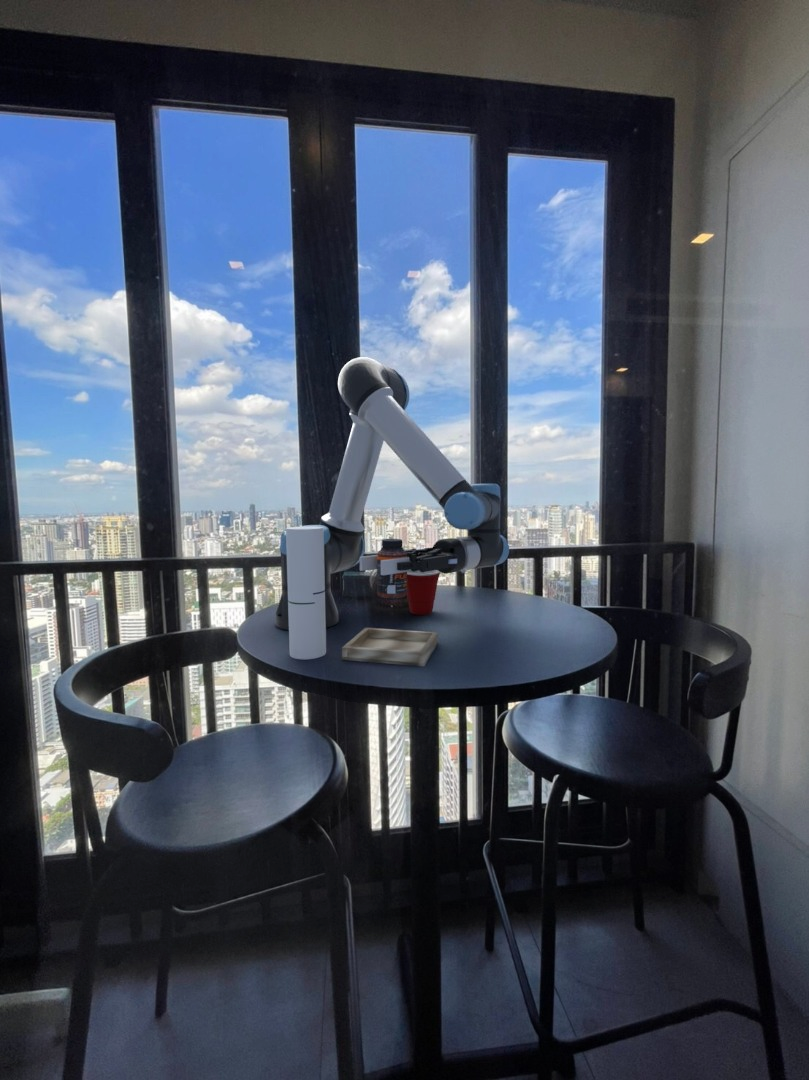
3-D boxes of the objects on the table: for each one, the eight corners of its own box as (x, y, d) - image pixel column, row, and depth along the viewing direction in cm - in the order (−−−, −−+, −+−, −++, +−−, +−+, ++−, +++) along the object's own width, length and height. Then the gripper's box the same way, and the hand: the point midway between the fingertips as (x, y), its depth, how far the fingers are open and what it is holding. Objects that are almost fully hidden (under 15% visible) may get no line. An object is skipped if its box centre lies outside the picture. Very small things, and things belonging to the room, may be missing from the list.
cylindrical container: (333, 653, 99) (330, 527, 96) (303, 662, 93) (299, 530, 91) (312, 645, 104) (309, 525, 101) (282, 653, 98) (278, 528, 96)
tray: (342, 659, 95) (342, 647, 94) (365, 638, 108) (365, 627, 108) (424, 666, 91) (424, 653, 91) (437, 643, 104) (437, 632, 104)
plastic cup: (398, 617, 126) (398, 570, 124) (402, 607, 136) (401, 564, 135) (441, 618, 125) (441, 571, 124) (441, 608, 136) (441, 564, 134)
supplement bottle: (398, 600, 94) (398, 541, 93) (371, 597, 97) (370, 540, 96) (412, 594, 100) (412, 538, 98) (386, 592, 102) (385, 537, 101)
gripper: (488, 577, 103) (403, 592, 88) (425, 566, 117) (343, 578, 102) (488, 541, 102) (403, 550, 87) (425, 535, 116) (342, 542, 101)
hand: (371, 565), depth 94 cm, fingers closed on supplement bottle, 6 cm apart
